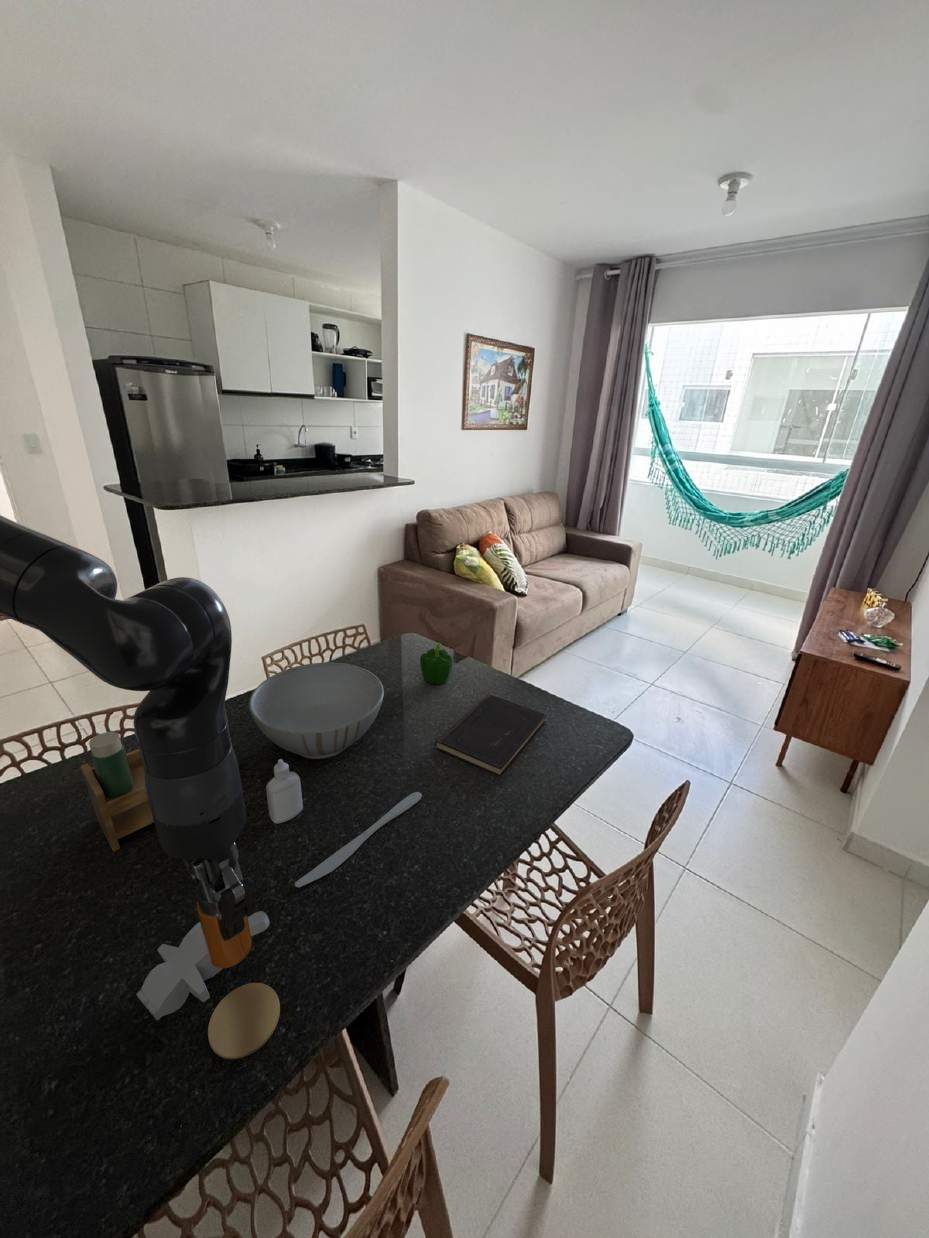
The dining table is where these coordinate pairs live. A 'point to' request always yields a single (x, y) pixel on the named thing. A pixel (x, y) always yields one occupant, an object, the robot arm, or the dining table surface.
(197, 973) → the bunny figurine
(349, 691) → the decorative bowl
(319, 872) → the butter knife
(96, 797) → the spice rack
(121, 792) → the green spice bottle
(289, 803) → the eye dropper bottle
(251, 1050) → the cork coaster
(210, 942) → the amber spice bottle
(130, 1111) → the dining table surface
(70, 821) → the dining table surface
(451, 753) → the hardcover book
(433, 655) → the bell pepper
